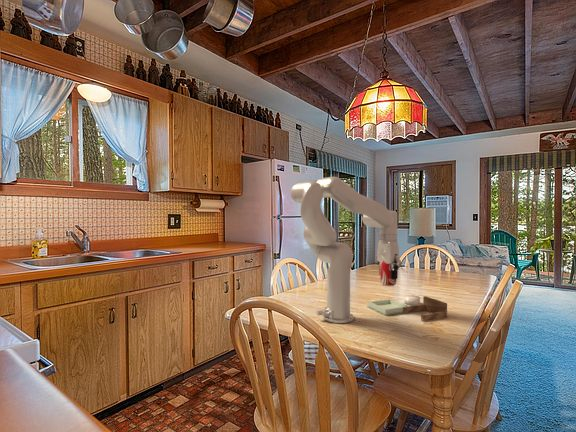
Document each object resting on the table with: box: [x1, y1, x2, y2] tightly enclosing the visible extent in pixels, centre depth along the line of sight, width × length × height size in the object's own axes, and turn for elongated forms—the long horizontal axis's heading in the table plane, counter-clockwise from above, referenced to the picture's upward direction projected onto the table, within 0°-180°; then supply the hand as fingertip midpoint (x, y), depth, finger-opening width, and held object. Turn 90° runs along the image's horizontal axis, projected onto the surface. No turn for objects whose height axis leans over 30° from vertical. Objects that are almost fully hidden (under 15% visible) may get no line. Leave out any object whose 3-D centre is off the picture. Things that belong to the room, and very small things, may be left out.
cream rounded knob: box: [404, 294, 421, 306], centre depth 159 cm, size 7×7×4 cm
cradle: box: [402, 295, 448, 322], centre depth 142 cm, size 13×12×6 cm
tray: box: [366, 298, 410, 317], centre depth 149 cm, size 13×13×3 cm
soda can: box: [379, 261, 398, 287], centre depth 149 cm, size 7×7×12 cm
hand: (388, 276), depth 149 cm, fingers closed on soda can, 7 cm apart
